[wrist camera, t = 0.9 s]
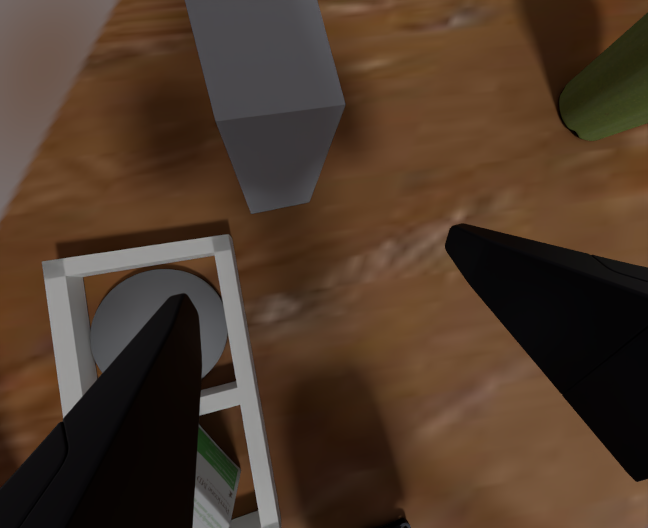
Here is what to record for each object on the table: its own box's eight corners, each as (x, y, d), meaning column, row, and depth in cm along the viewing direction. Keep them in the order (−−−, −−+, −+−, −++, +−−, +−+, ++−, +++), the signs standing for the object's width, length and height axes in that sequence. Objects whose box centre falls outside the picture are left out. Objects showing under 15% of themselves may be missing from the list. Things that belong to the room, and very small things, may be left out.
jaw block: (309, 202, 22) (345, 104, 10) (251, 214, 21) (215, 121, 9) (294, 147, 22) (313, -13, 10) (236, 156, 21) (183, -8, 9)
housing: (281, 519, 19) (281, 538, 18) (106, 583, 17) (89, 612, 16) (231, 237, 20) (228, 234, 19) (61, 263, 18) (42, 261, 17)
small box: (244, 468, 19) (232, 529, 14) (180, 530, 18) (144, 619, 13) (194, 413, 19) (166, 457, 14) (126, 473, 18) (70, 543, 13)
